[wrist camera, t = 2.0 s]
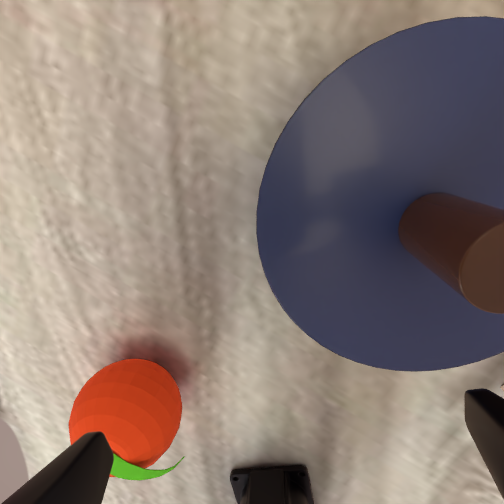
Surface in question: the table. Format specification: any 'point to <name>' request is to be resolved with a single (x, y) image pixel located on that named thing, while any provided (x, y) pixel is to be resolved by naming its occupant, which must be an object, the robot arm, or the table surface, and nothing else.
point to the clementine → (130, 415)
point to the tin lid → (395, 201)
